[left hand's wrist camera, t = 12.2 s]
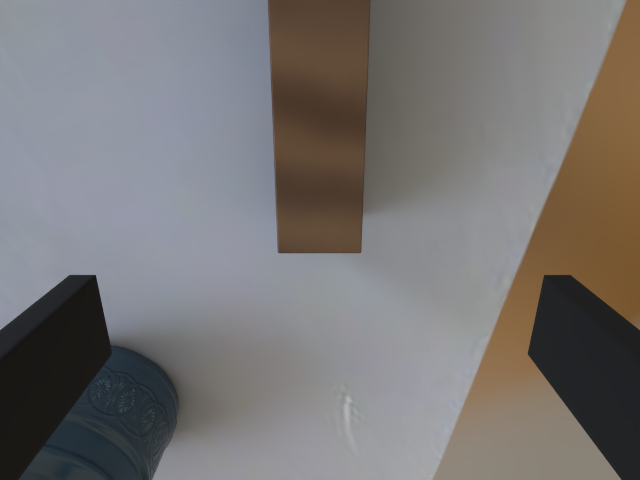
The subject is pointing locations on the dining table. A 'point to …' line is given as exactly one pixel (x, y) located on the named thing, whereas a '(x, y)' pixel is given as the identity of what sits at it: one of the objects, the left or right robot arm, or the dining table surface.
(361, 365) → the dining table surface
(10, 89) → the dining table surface
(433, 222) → the dining table surface
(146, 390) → the canister
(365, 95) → the post
